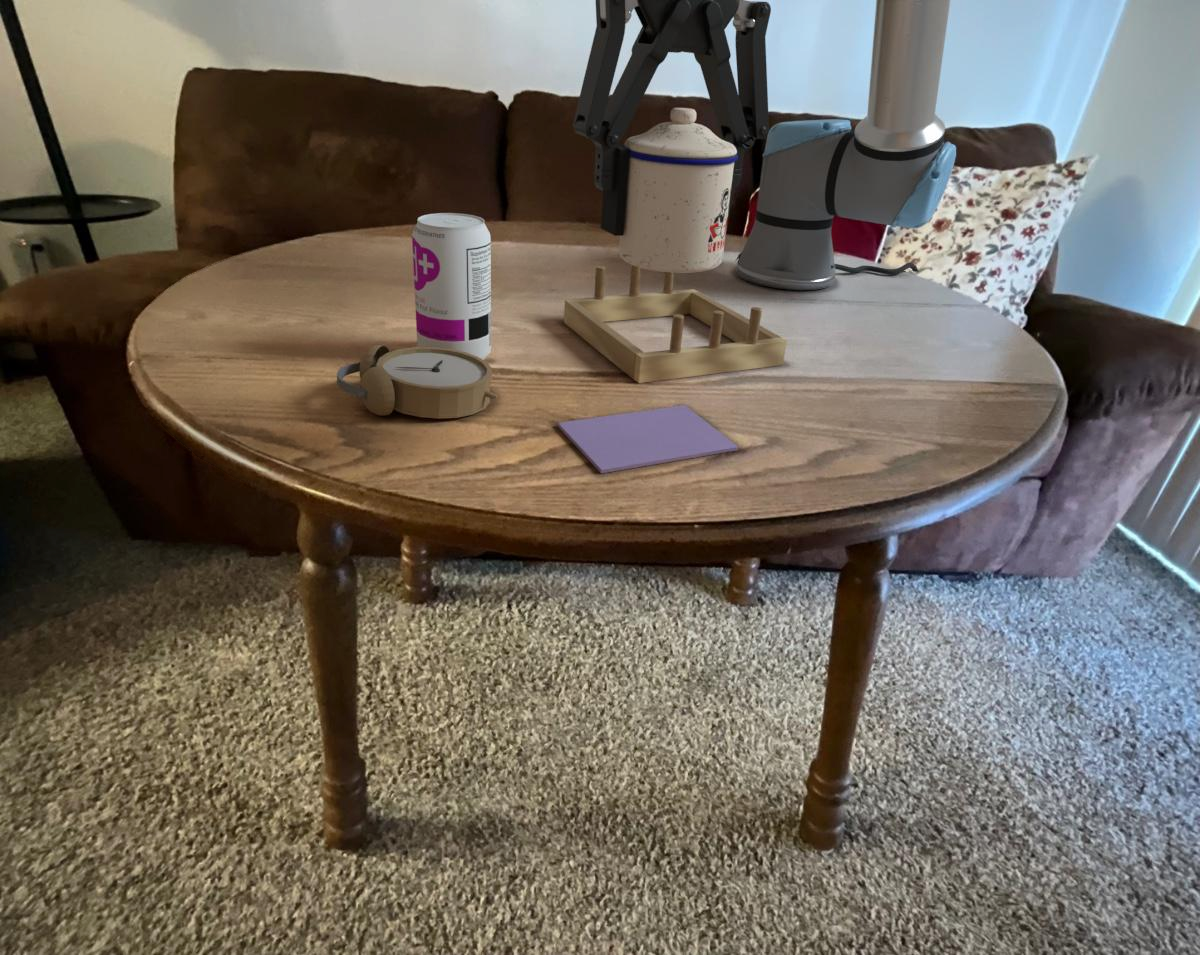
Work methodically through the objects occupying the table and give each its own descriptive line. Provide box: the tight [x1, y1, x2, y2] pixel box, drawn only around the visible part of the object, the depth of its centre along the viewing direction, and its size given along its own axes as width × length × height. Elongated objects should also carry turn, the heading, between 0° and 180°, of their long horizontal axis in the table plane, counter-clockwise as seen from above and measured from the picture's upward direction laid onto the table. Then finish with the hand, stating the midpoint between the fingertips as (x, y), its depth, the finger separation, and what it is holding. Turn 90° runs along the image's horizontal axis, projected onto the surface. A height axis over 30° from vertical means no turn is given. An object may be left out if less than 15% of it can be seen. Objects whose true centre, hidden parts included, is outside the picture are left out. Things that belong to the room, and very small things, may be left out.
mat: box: [557, 404, 739, 474], centre depth 79 cm, size 14×10×1 cm
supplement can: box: [411, 212, 492, 361], centre depth 92 cm, size 8×8×15 cm
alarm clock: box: [336, 344, 498, 420], centre depth 83 cm, size 11×5×15 cm
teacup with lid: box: [618, 107, 738, 274], centre depth 69 cm, size 12×9×12 cm
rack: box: [563, 264, 788, 384], centre depth 102 cm, size 19×21×7 cm
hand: (664, 229), depth 70 cm, fingers closed on teacup with lid, 9 cm apart
